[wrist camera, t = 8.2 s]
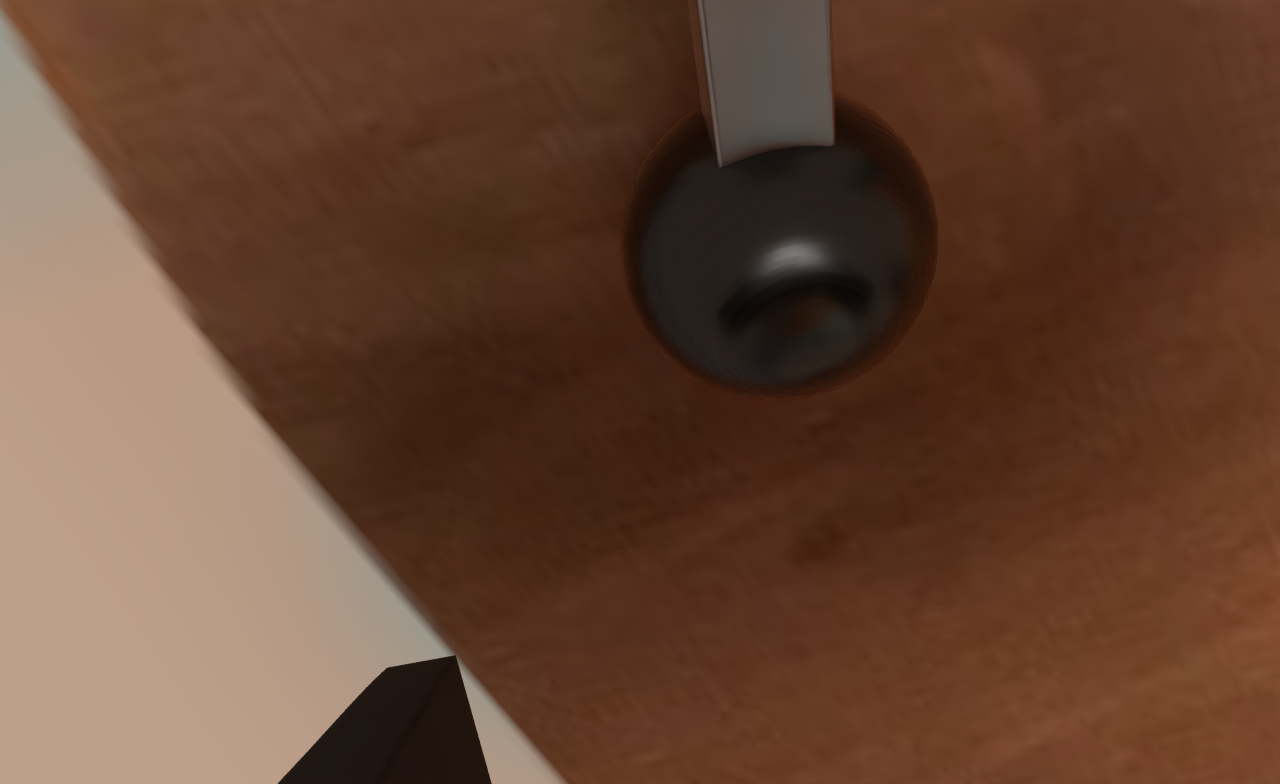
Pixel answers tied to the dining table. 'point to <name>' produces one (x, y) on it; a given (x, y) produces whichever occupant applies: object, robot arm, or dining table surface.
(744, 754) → the dining table surface
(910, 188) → the lever
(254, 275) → the dining table surface
